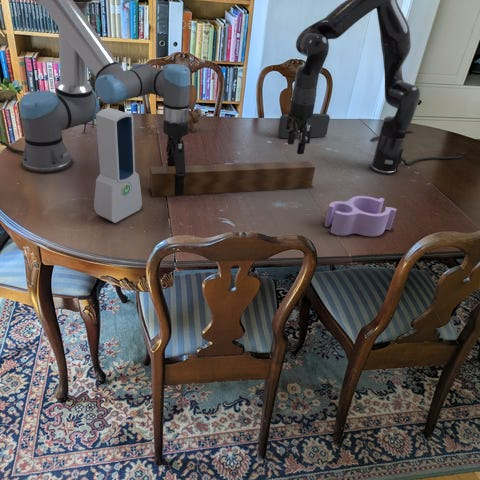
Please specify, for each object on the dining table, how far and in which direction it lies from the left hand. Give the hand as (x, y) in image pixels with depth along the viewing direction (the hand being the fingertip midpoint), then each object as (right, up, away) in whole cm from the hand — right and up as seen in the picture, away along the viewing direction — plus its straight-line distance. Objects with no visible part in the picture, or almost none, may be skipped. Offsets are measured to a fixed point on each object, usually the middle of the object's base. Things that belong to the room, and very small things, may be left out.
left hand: (175, 184), depth 150 cm
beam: (+19, 0, +7) cm, 20 cm away
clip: (+57, -14, -7) cm, 59 cm away
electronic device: (-15, -10, -13) cm, 22 cm away
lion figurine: (-2, +30, +50) cm, 58 cm away
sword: (+92, +31, +67) cm, 118 cm away
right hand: (+39, +13, +6) cm, 42 cm away
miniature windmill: (-37, +26, +39) cm, 60 cm away
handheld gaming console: (+48, +28, +56) cm, 79 cm away
